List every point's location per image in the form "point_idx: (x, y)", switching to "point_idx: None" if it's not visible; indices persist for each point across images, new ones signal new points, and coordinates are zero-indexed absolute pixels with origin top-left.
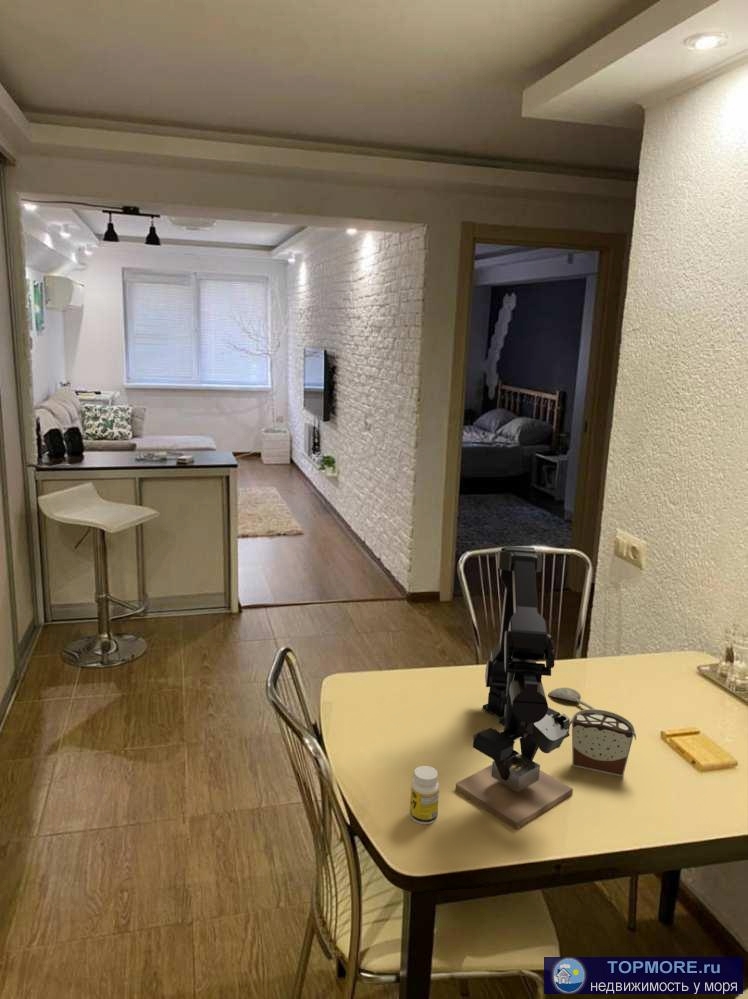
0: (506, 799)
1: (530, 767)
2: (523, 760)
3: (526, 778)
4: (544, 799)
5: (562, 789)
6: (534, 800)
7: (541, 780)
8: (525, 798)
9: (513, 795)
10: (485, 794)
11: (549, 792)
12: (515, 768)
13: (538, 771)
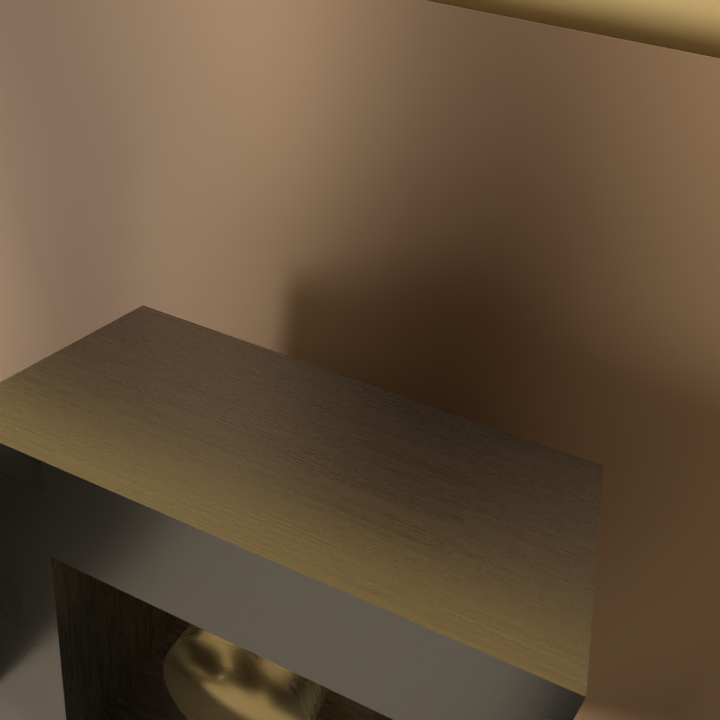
0: (677, 510)
1: (119, 545)
2: (62, 661)
3: (355, 488)
4: (358, 97)
5: (22, 5)
6: (470, 204)
7: (82, 285)
8: (503, 321)
9: None
10: (717, 713)
11: (184, 113)
12: (293, 709)
13: (56, 374)
